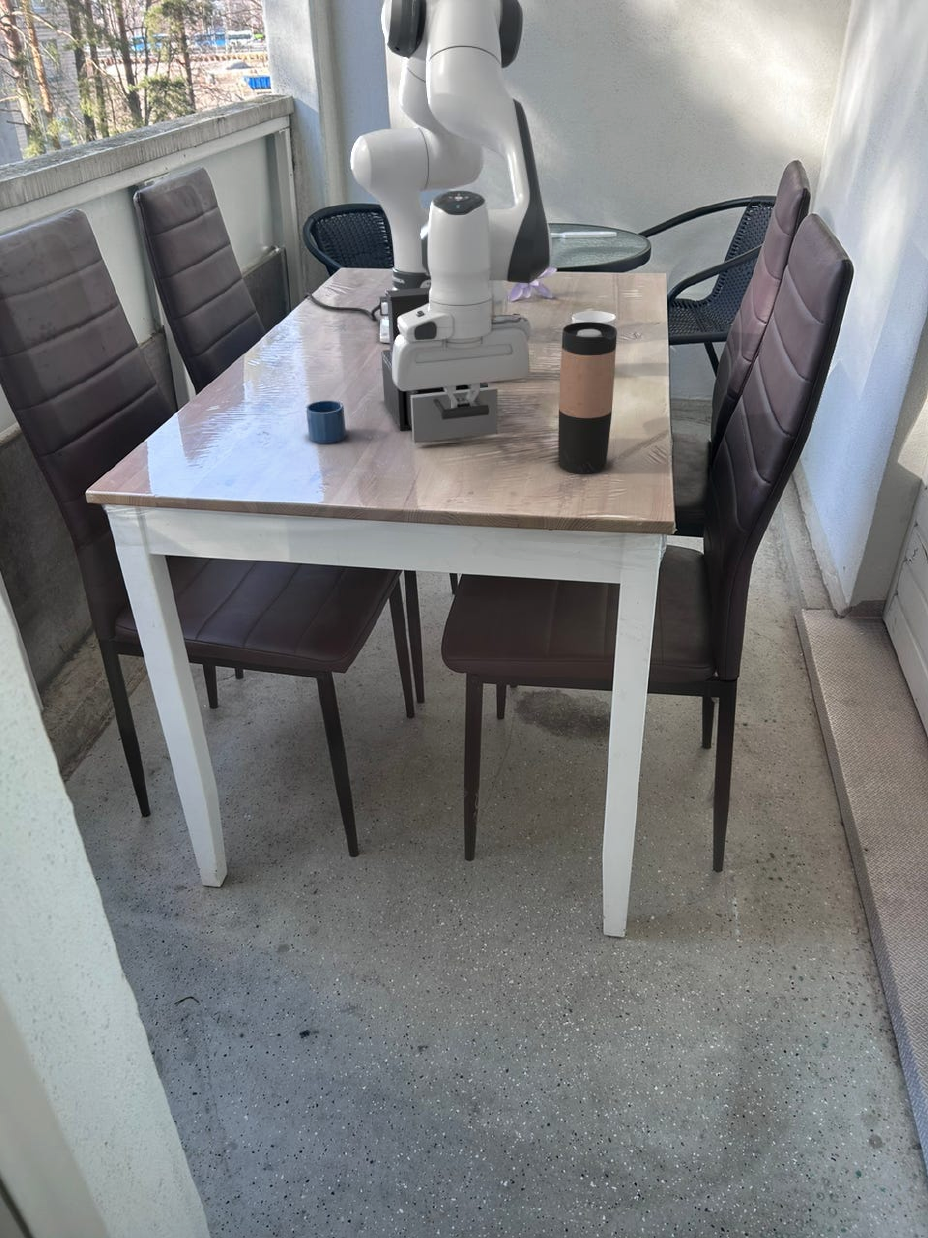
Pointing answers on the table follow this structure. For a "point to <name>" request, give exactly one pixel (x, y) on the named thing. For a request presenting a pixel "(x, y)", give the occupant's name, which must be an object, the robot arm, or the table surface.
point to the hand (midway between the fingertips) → (462, 412)
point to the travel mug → (586, 396)
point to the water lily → (526, 288)
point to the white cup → (594, 317)
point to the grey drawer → (450, 413)
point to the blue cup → (326, 422)
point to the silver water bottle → (498, 298)
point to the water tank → (403, 307)
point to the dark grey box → (393, 392)
